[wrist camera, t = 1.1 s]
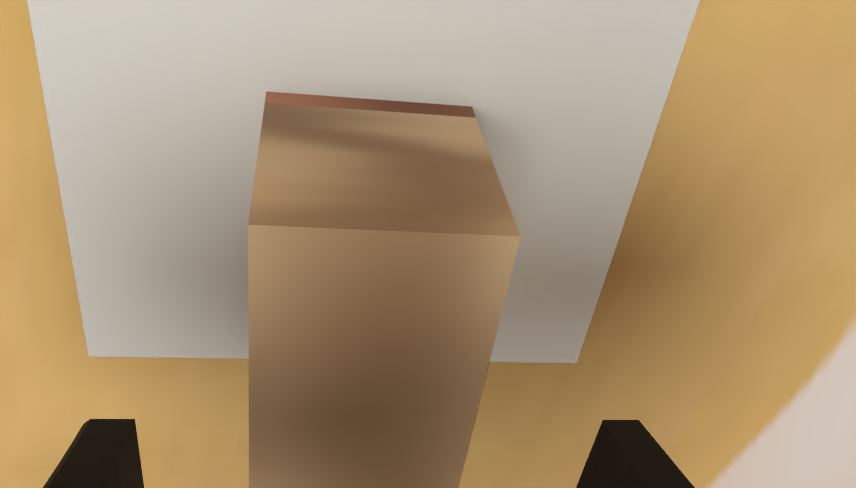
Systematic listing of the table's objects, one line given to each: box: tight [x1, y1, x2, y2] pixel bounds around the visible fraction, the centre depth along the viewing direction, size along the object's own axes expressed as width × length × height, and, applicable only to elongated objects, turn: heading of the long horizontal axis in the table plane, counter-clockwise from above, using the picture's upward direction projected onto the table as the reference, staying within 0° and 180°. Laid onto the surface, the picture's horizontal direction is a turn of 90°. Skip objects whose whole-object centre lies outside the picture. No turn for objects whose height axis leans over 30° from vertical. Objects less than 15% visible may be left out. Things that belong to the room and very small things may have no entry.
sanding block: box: [248, 91, 521, 488], centre depth 15 cm, size 4×7×4 cm, turn 172°
